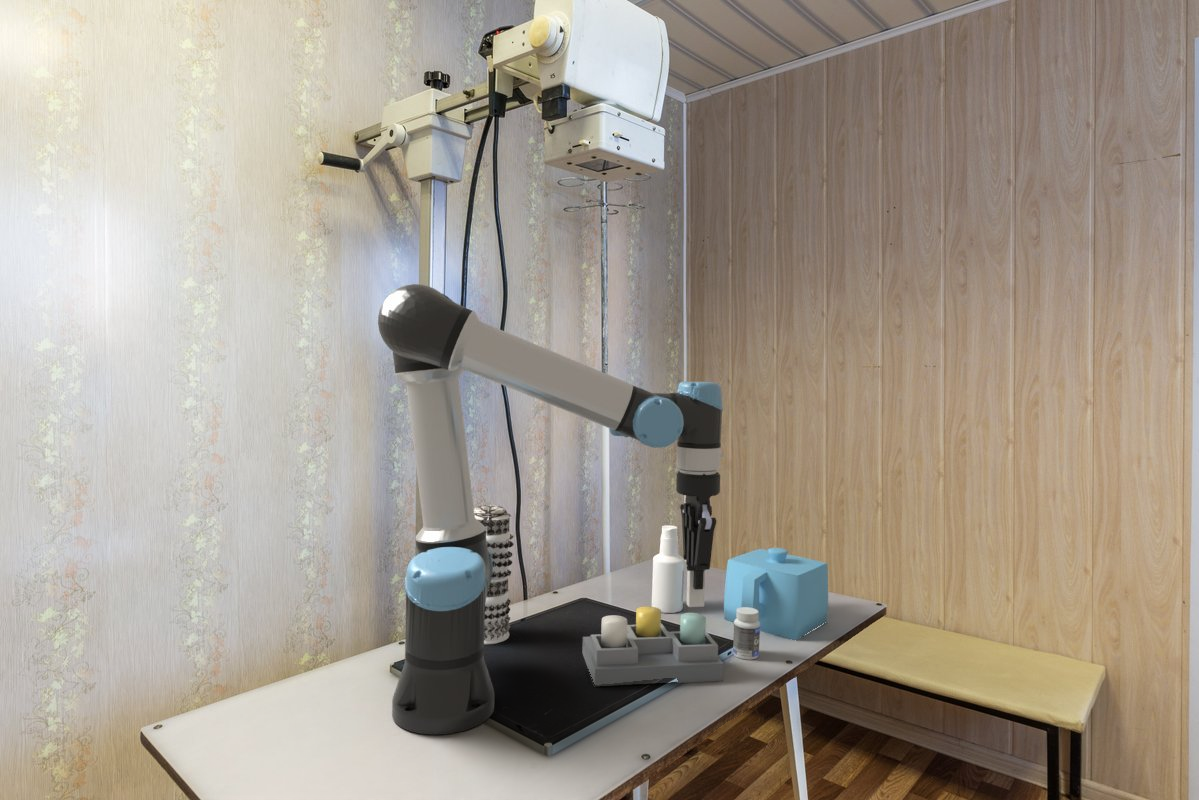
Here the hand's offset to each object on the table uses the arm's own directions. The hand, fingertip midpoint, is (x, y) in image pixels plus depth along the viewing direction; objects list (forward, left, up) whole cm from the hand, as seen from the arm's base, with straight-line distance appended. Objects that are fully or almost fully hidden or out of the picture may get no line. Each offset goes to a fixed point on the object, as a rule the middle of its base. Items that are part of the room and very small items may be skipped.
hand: (695, 605), depth 125 cm
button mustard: (-7, +4, -6) cm, 10 cm away
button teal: (0, 0, -6) cm, 6 cm away
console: (-7, +2, -11) cm, 14 cm away
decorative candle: (-35, +19, -12) cm, 42 cm away
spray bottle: (+4, +31, -12) cm, 33 cm away
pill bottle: (+12, +5, -12) cm, 17 cm away
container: (+25, +22, -12) cm, 35 cm away
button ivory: (-14, 0, -6) cm, 16 cm away
